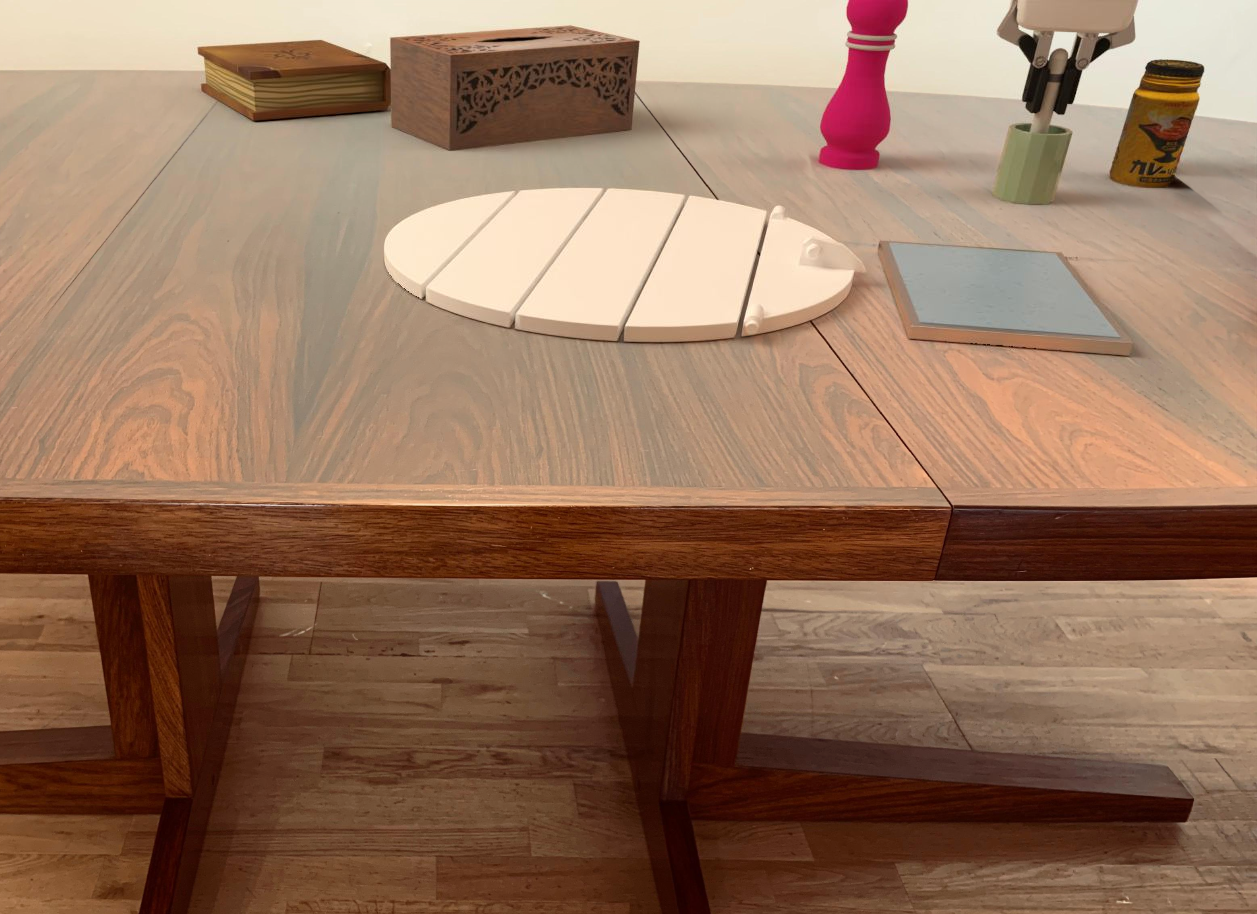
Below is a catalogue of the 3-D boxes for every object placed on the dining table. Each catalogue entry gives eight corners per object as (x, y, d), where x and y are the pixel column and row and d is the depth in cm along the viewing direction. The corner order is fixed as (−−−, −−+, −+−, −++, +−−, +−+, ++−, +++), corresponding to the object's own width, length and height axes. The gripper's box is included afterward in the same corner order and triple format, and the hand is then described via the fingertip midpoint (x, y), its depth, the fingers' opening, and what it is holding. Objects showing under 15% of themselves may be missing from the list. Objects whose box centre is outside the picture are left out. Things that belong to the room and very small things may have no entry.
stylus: (1030, 188, 120) (1068, 47, 113) (1033, 192, 119) (1072, 50, 111) (1012, 187, 120) (1050, 46, 113) (1016, 191, 119) (1053, 49, 112)
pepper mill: (811, 171, 130) (846, -36, 119) (815, 157, 135) (849, -42, 125) (880, 177, 128) (923, -33, 117) (882, 163, 133) (922, -39, 123)
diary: (392, 110, 155) (391, 62, 152) (253, 122, 148) (250, 72, 145) (328, 81, 172) (326, 37, 169) (201, 90, 165) (197, 45, 162)
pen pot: (1044, 196, 122) (1064, 124, 118) (1057, 211, 117) (1078, 136, 113) (986, 193, 123) (1004, 121, 119) (996, 207, 118) (1016, 133, 114)
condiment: (1158, 197, 122) (1199, 70, 116) (1075, 181, 127) (1110, 59, 121) (1185, 185, 126) (1226, 63, 120) (1103, 171, 132) (1138, 52, 125)
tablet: (1058, 263, 103) (1062, 251, 102) (1129, 356, 84) (1134, 342, 84) (877, 251, 105) (879, 239, 104) (908, 339, 87) (911, 324, 86)
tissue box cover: (449, 150, 136) (450, 55, 131) (391, 126, 147) (390, 37, 141) (631, 129, 147) (639, 40, 142) (565, 108, 157) (570, 25, 152)
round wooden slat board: (863, 221, 113) (870, 184, 111) (862, 371, 81) (872, 322, 79) (457, 186, 122) (457, 151, 121) (314, 308, 91) (312, 263, 89)
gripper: (1186, -110, 107) (1120, 108, 117) (1001, -114, 110) (952, 100, 120) (1214, -106, 101) (1142, 124, 111) (1018, -110, 103) (965, 114, 113)
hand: (1044, 110), depth 115 cm, fingers closed on stylus, 1 cm apart
